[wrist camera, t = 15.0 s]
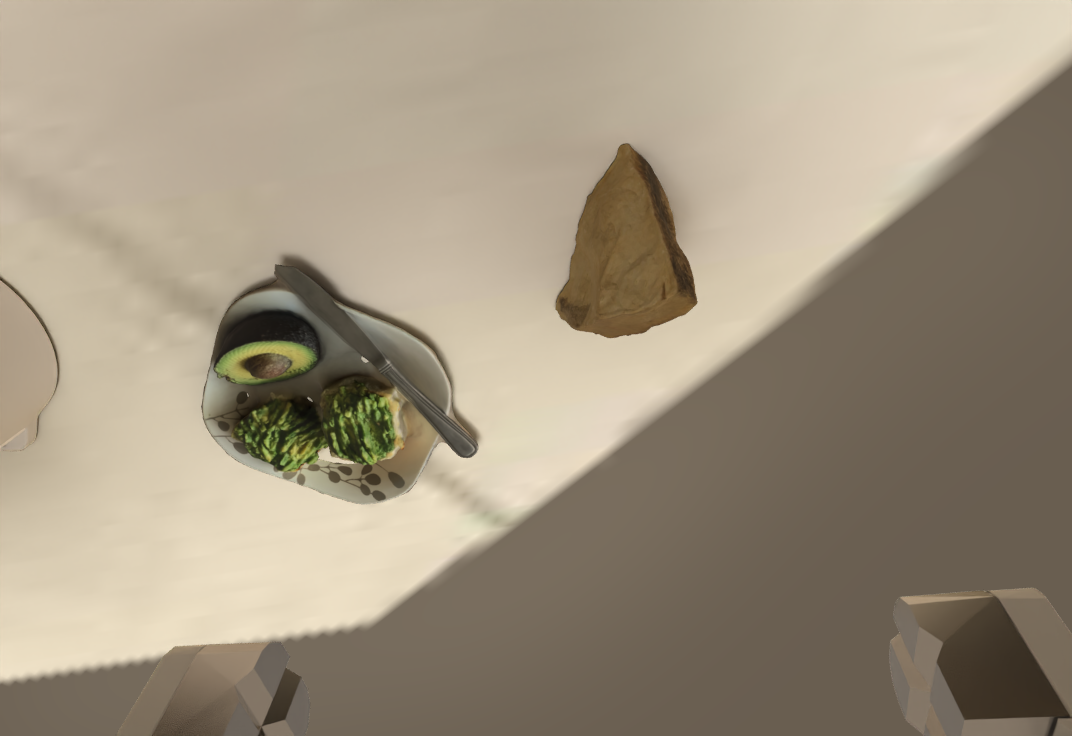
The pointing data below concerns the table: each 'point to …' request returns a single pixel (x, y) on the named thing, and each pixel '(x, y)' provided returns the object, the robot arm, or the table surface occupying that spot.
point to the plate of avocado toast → (327, 393)
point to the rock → (626, 256)
